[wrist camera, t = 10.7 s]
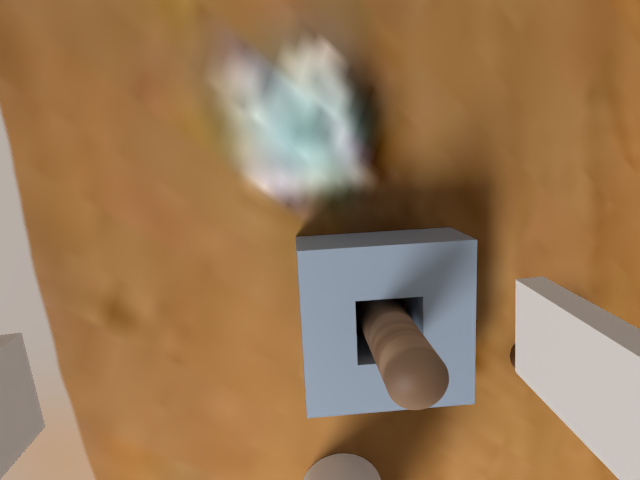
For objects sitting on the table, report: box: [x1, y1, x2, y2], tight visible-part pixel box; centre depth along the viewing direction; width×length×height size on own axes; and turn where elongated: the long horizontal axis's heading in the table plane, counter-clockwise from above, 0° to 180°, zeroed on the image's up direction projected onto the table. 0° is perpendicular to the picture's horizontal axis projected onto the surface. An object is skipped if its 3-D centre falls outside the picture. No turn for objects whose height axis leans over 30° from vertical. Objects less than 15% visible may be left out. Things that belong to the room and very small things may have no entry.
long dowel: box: [355, 298, 449, 410], centre depth 35 cm, size 4×4×14 cm
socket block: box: [296, 227, 477, 418], centre depth 39 cm, size 14×14×6 cm
